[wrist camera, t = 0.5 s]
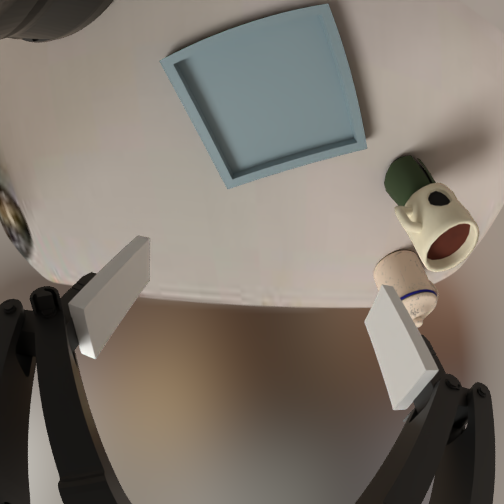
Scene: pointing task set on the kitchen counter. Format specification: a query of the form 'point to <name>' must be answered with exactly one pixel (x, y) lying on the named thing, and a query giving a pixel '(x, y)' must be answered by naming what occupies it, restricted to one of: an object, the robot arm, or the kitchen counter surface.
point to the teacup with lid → (408, 283)
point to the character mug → (430, 215)
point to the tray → (270, 94)
